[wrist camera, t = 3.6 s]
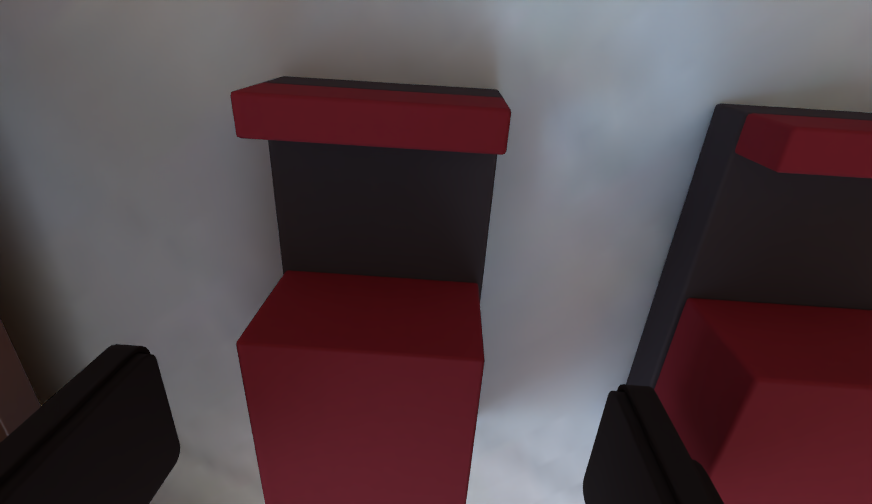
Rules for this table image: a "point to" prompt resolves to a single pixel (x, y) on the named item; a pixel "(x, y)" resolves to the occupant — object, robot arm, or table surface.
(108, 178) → the table surface
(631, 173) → the table surface
